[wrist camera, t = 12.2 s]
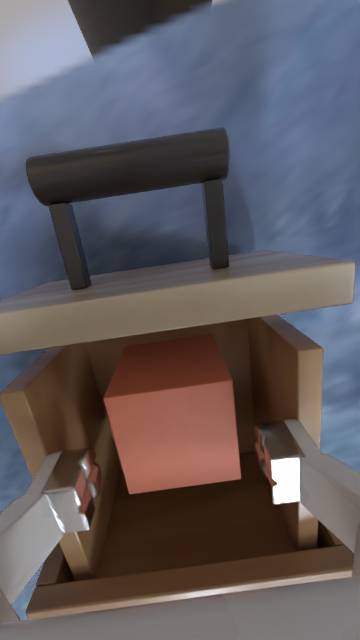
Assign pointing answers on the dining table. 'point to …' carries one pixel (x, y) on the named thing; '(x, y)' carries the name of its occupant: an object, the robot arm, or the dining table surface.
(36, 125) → the dining table surface
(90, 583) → the cabinet
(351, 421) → the dining table surface
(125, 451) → the block
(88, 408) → the drawer
